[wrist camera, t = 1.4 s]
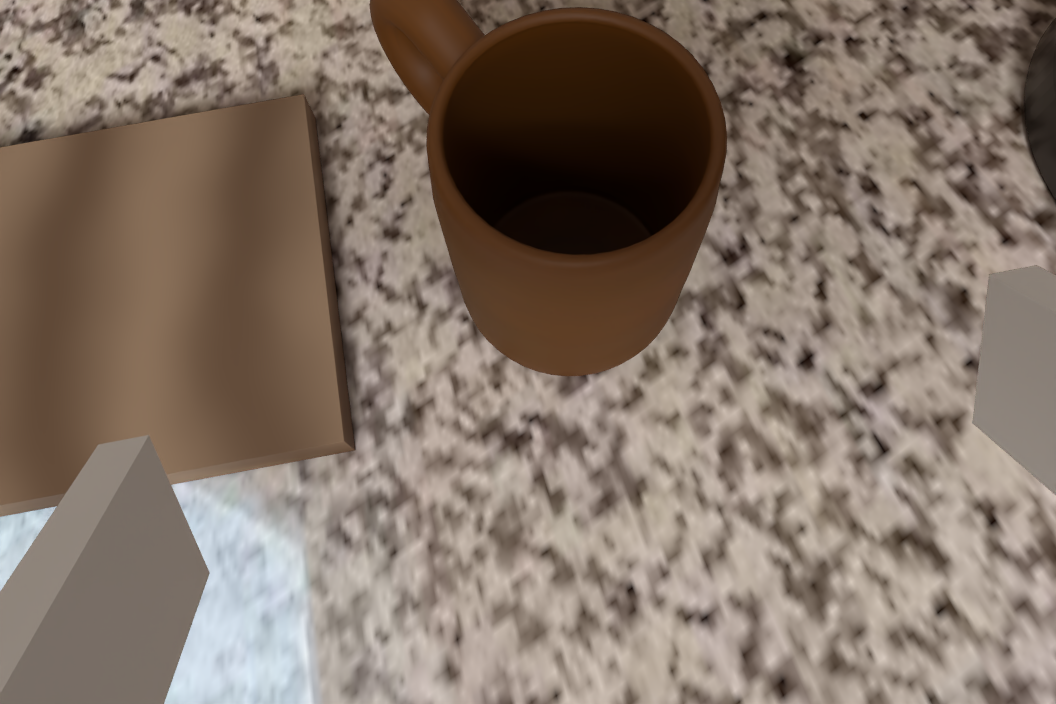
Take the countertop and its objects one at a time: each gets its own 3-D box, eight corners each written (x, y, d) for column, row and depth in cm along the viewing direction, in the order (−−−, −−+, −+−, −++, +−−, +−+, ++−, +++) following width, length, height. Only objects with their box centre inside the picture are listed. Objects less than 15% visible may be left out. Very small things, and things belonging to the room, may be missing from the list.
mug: (341, 194, 30) (249, 16, 21) (495, 73, 31) (471, -143, 22) (564, 429, 27) (569, 338, 18) (723, 284, 28) (801, 133, 19)
